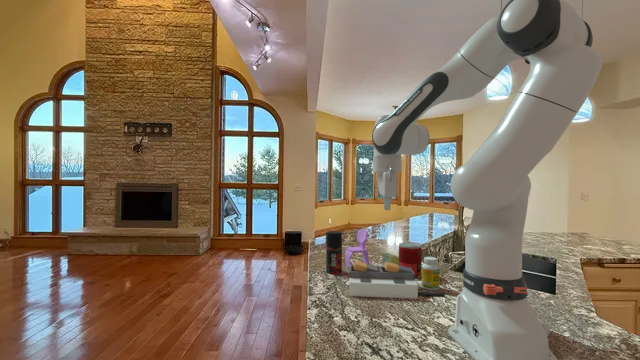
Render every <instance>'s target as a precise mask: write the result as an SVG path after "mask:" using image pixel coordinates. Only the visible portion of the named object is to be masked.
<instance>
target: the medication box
mask: <svg viewBox="0 0 640 360" xmlns="http://www.w3.org/2000/svg"><path fill="white" fill-rule="evenodd" d="M381 256H382V263H384V262H386V261H387V262H391V263H394V264H398V265H399V256H397V255H394V254H392V253H389V252H383V253H382V255H381Z"/></svg>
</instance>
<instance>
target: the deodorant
mask: <svg viewBox="0 0 640 360" xmlns="http://www.w3.org/2000/svg"><path fill="white" fill-rule="evenodd" d="M325 234H326V235H325V237H326V238H325V248H326V250H325V253H326V254H325V263H326V264H325V273H326V274H329V275H340V274H342V273H343V232H342V231H340V230H330V231H326V233H325Z"/></svg>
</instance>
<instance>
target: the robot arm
mask: <svg viewBox="0 0 640 360" xmlns="http://www.w3.org/2000/svg"><path fill="white" fill-rule="evenodd" d="M593 42H594V41H593V31H592V29H591V27H590V25H589V24H588V22H586V21H585V20H583V19H582V17H581V16H580V15H579V14H578V12H577V11H576V9H575V8H574V7H573V6H571V5H570V4H569V3H568V2H566V1H565V0H509V1H507V3H506V5H505V6H504V7H503V8H502V10H501V12H500V13H499V15H498V16H494V17H492V18H490V19H489V20H487V22H485V23H484V24H483V25H482V26H481V27H480V28H478V29H477V31H475V32H474V33H473V34H472V35H471V36H470V37H469V38H468V39H467V40H466V42H465V43H464V44H463V45H462V46H461V47H460V48H459V50H458V51H457V52H456V53H455V54H454V55H453V56H452V57H451V59H449V61H447V62H446V63H445V64H444V65H443V66H442V67H441V68H439V69H438V70H437V71H435V72H434V73H432V74H431V75H429V76H428V77H427V78H425V79H424V80H423V81H421V83H420V84H419V85H418V86H417V87H416V88H415V89H414V90H413V91H412V92H411V93H409V95H408V96H407V97H406V98H405V99H404V100H403V101H402V102H401V103H399V105H398V106H397V107H396V108H395V110H393V111H392V112H390V114H386V115H381V116H380V117H378V118H377V119H376V120H375V123H374V126H373V127H374V128H373V130H372V135H371V139H372V144H373V148H374V151H373V153H374V154H373V157H372V158H373V161H372V165H373V167H372V168H373V169H372V171H373V173H375V174H376V176H377V177H376V178H377V188H378V194H379V195H381V196H383V197H382V200H383V210H385V211H391V203H392V198H397V194H398V186H397V185H398V184H397V183H398V181H397V178H398V173H402V155H403V156H406V155H407V156H408V155H409V156H416V155H421V154H422V153H424V152H425V151H426V150H427V148H428V146H429V144H430V133H429V130H428V129H427V127H426V126H425V125H423V124H421V123H416V122H418V121H419V120H420V118H422V116H424V115H425V114H426V113H427V112H428V111H429V110H430V109H431V108H433V107H435V106H437V105H440V104H443V103H447V102H452V101H459V100H467V99H470V98H473V97H475V96H476V95H478V94H479V93H480V92H482V91H483V90H484V89H485V88H487V87H488V86H489V84H491V83H492V82H493V80H494V79H495V78H496V77H497V76H498V75H499V74H500V73H501V72H502V71H503V70H504V69H505V68H506V67H507V66H508V65H509V64H511V63H512V62H514V61H517V60H524V62H525V63H526V64H527V65H530V67H529V68H530V69H529V72H528V74H527V77H526V78H525V80H524V82H523V83H522V85H521V86H520V88H519V90H518V92H517V93H516V95H515V96H514V98H513V100H512V102H511V103H510V105H509V106H508V108H507V109H506V111H505V113H504V114H503V116H502V118H501V119H500V121H499V122H498V123H497V126H496V127H495V128H494V129H493V131H492V132H491V134H489V135H488V137H487V138H486V139H485V140H484V141H483V143H482V144H481V145H480V146H479V147H478V148H477V149H476V151H475V152H474V153H473V154H472V156H470V157H469V159H468V160H467V161H466V162H465V163H464V164H462V165H460V166H459V167H458V168H457V169H456V170H455V171H454V172H453V175H452V177H451V179H450V183H449V184H450V185H449V186H450V187H449V188H450V191H451V195H452V197H453V198H454V200H455V202H457V203H458V204H459V205H460V206H462V207H464V208H465V209H468V210H471V211H473V212H472V216H471V221H470V224H469V227H468V229H467V231H466V234H465V240H464V241H465V242H464V245H465V246H464V247H465V248H464V249H465V250H464V251H465V253H464V256H465V258H464V259H465V260H464V262H465V264H464V265H465V267H464V268H463V270H462V271H463V272H462V285H463V288H462V290H461V291H460V293H459V294H458V295H457V296H456V299H455V300H456V302H455V317H454V325H451V326H450V327H448V330H447V333H448V334H449V336H450V337H451V338H452V339H453V340H454V341H455V342H456V343H457V344H458V345H460V347H461V348H463V349H464V350H465V352H466V353H468V355H470V356H471V357H472V358H473V359H474V360H559V359H557V356H555V354H554V353H553V351H552V350H551V349H550V346H549V338H548V337H549V336H550V332H551V331H550V330H551V329H550V327H549V325H548V323H545V322H544V323H543V322H541V321H540V319H539V317H538V314H537V310H535V309H533V307H532V306H531V304H530V302H529V300H528V295H529V294H528V291H527V290H528V287H527V283H526V281H525V277H524V275H523V237H524V229H525V225H526V220H527V219H526V218H527V213H528V206H529V205H528V204H529V196H530V192H531V188H532V183H531V182H532V181H531V179H530V177H529V174H530V173H531V172H532V171H533V169H535V168H536V166H537V165H538V164H540V162H541V161H542V160H543V159H544V158H545V157H546V156H547V155H548V154H549V153H550V152H551V151H552V150H553V149H554V148H555V146H556V145H557V143H558V141H559V140H560V139H561V138H562V136H563V135H564V133H565V131H566V130H567V129H568V127H569V126H570V124H571V123H572V121H574V119H575V117H576V116H577V114H578V113H579V111H580V110H581V109H582V107H583V105H584V104H585V102H586V100H588V97H589V95H590V93H591V91H592V90H593V88H594V85H595V83H596V81H597V79H598V77H599V75H600V72H601V70H602V67H603V58H602V57H601V54H599V52H598V51H596V50H595V49H594V47H593V48H592V45H593Z"/></svg>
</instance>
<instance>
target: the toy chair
mask: <svg viewBox="0 0 640 360" xmlns="http://www.w3.org/2000/svg"><path fill="white" fill-rule="evenodd" d="M367 239H368V232H367V230H366V229H365V228H360V229H358V231H357V234H356V240H357V242H358V243H359V246H352V247H351V246H350V247H349V246H347V247H345V248H346V250H345V252H344V257H345V258H344V259H345V267H347V268H348V267H349V268H350V266H352V264H351V260H352V256H353V254H357V253H361V255H362V259H363V263H366V264H370V260H369V256H370V255H369V252H368V249H366V241H367ZM370 265H371V264H370ZM349 268H348V269H349Z"/></svg>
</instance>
